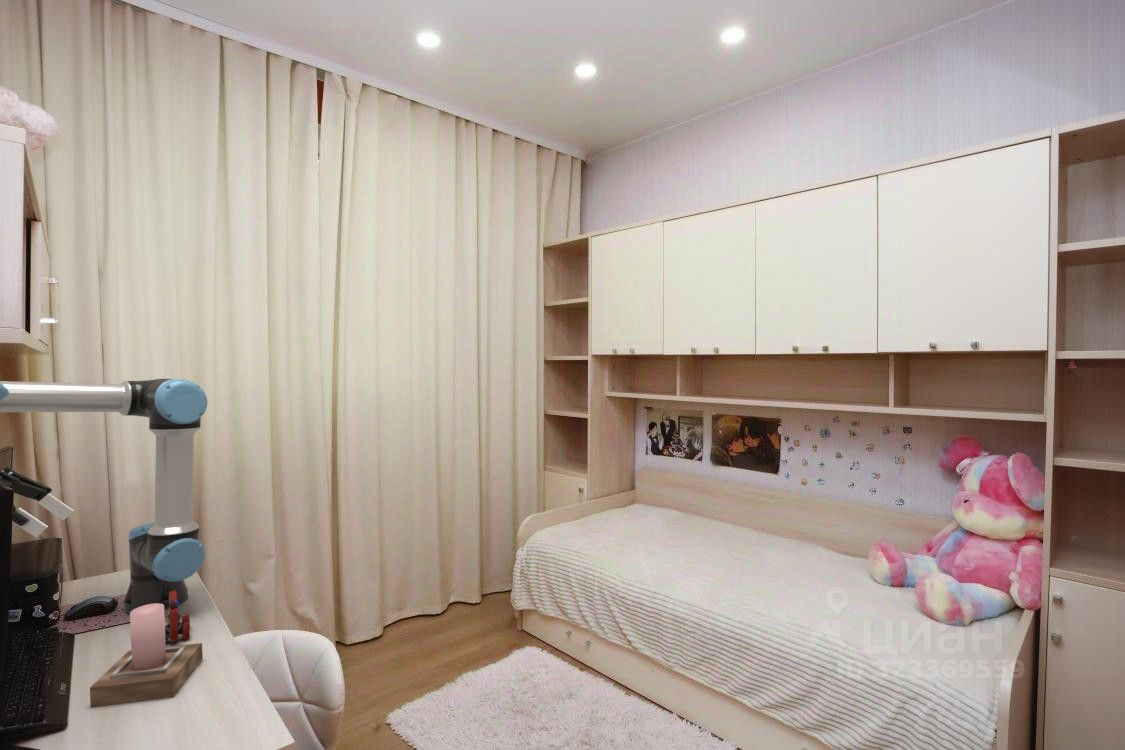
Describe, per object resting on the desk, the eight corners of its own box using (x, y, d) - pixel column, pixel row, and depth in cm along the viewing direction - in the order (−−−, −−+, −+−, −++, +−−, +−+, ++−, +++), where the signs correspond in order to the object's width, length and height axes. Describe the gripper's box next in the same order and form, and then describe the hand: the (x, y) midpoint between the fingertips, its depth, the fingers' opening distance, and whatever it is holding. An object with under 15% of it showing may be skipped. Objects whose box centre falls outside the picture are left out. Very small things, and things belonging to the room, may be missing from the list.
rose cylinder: (140, 658, 127) (138, 605, 127) (171, 654, 128) (169, 602, 128) (126, 672, 121) (124, 617, 121) (158, 669, 122) (156, 614, 122)
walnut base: (129, 667, 131) (128, 646, 131) (202, 659, 134) (202, 639, 134) (90, 707, 116) (89, 683, 116) (173, 697, 119) (172, 674, 119)
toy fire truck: (156, 652, 138) (154, 609, 137) (157, 632, 148) (155, 592, 147) (190, 644, 141) (189, 602, 141) (189, 624, 152) (188, 585, 151)
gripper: (-19, 465, 133) (65, 521, 139) (-92, 488, 110) (13, 554, 116) (10, 440, 135) (91, 497, 141) (-56, 458, 112) (45, 525, 118)
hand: (56, 523), depth 128 cm, fingers open, 13 cm apart
